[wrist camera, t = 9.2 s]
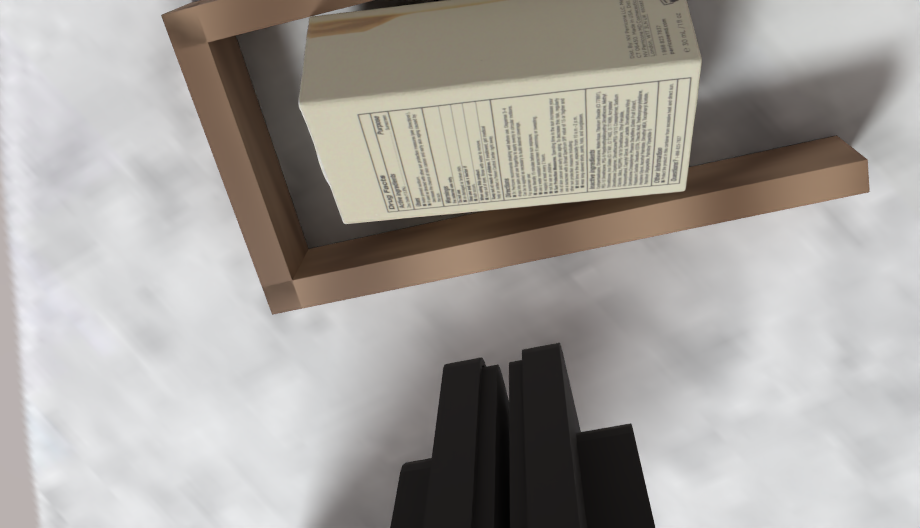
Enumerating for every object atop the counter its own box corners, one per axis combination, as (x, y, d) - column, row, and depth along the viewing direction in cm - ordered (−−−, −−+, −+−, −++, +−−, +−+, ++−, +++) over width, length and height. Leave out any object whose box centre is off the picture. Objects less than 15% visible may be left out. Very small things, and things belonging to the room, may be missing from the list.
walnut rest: (814, -160, 29) (847, -164, 26) (838, 165, 33) (869, 192, 30) (190, 2, 32) (160, 14, 29) (289, 280, 36) (272, 314, 33)
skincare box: (685, -34, 28) (304, 2, 28) (710, 60, 25) (291, 96, 26) (666, 112, 33) (345, 139, 34) (686, 202, 30) (338, 228, 31)
